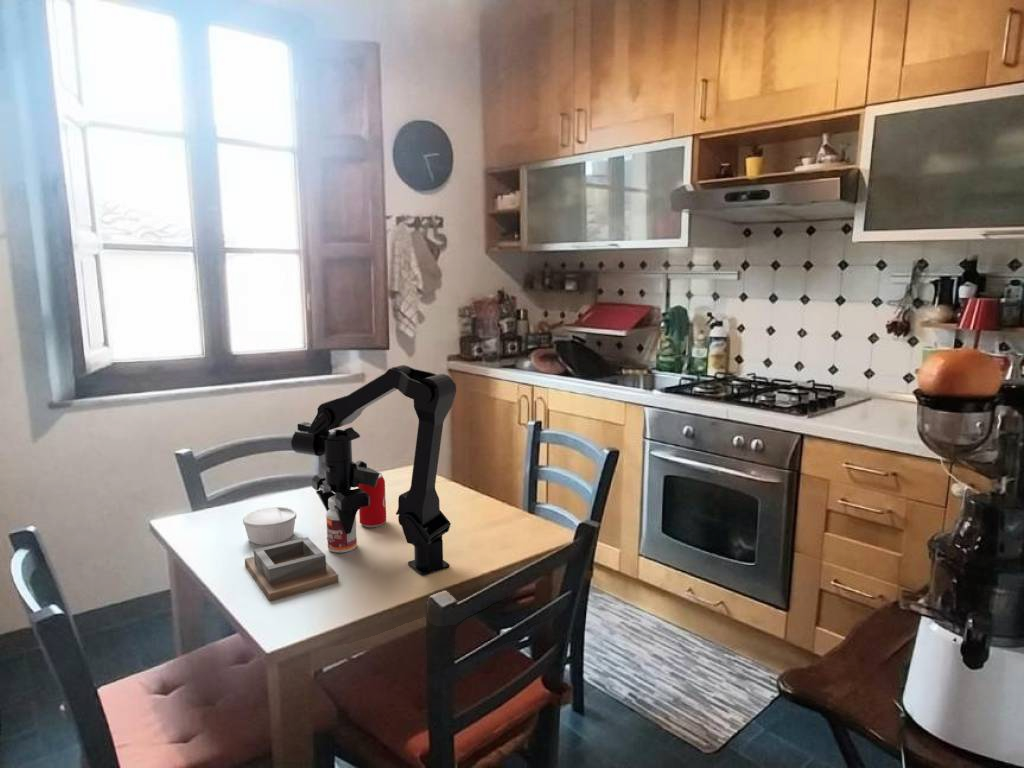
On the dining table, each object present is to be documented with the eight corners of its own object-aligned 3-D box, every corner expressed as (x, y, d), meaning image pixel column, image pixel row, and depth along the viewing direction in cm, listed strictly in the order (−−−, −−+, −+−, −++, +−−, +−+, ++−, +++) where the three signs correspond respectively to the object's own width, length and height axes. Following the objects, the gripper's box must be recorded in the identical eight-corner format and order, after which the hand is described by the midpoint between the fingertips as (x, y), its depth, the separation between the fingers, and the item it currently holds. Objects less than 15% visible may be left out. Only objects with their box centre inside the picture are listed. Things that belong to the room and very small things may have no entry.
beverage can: (389, 519, 158) (388, 471, 155) (382, 529, 151) (380, 479, 149) (364, 518, 158) (362, 471, 156) (356, 528, 152) (353, 479, 150)
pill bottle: (322, 551, 139) (319, 501, 138) (338, 540, 145) (336, 491, 143) (346, 555, 137) (344, 504, 135) (362, 544, 143) (360, 495, 141)
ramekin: (307, 534, 149) (306, 512, 148) (267, 551, 140) (266, 528, 139) (274, 524, 155) (273, 503, 154) (234, 541, 145) (232, 518, 144)
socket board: (338, 582, 125) (337, 560, 125) (269, 601, 118) (268, 578, 117) (308, 550, 140) (307, 530, 139) (245, 565, 133) (243, 544, 132)
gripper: (392, 462, 135) (394, 533, 138) (357, 443, 150) (360, 507, 153) (340, 471, 129) (343, 546, 131) (309, 451, 144) (313, 518, 146)
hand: (341, 527), depth 140 cm, fingers open, 7 cm apart
